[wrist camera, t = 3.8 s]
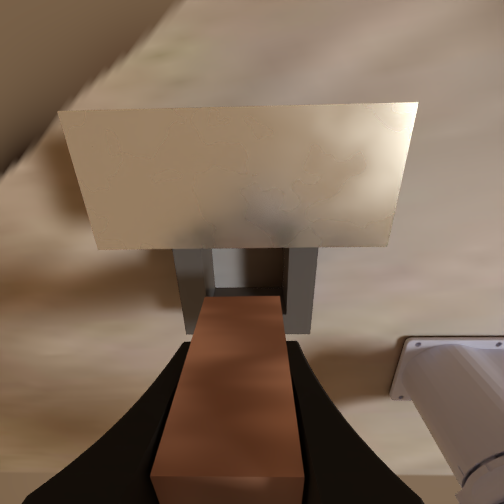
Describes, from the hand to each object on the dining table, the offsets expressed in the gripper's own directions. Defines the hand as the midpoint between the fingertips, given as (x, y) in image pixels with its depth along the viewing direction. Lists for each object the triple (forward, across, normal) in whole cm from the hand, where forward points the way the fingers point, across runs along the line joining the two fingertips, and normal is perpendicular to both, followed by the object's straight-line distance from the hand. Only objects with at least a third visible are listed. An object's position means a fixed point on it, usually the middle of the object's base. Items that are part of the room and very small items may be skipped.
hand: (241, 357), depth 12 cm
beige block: (+10, 0, -8) cm, 12 cm away
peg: (+2, 0, 0) cm, 3 cm away
